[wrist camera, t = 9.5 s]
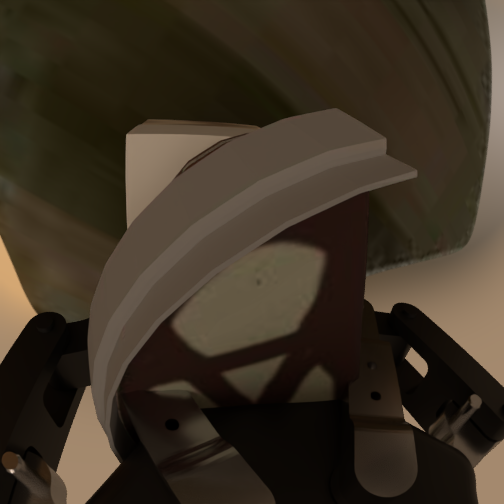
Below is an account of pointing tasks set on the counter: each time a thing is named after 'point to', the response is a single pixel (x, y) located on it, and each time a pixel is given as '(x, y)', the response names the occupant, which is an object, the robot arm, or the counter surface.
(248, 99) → the counter surface
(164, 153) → the tower top block
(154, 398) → the robot arm
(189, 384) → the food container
